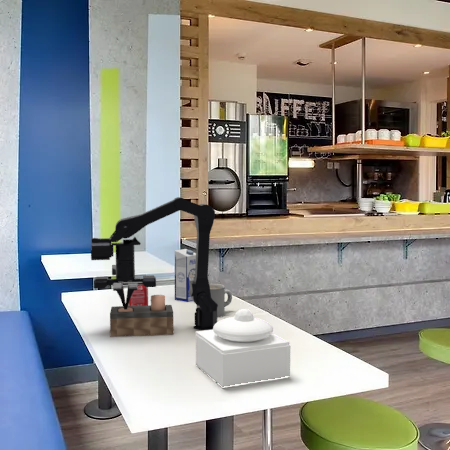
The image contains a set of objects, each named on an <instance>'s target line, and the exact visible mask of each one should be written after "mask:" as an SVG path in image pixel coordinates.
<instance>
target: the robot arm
mask: <svg viewBox="0 0 450 450" xmlns="http://www.w3.org/2000/svg"><path fill="white" fill-rule="evenodd" d="M179 211H182V212H185V213H187V214H190V215H192V216H194V219H193V220H194V225H195V230H196V245H195V246H196V248H195V253H196V265H195V277H194V280H193V281H190V280H189V291H188V293H189V294H190V296H191V299H192V300H193V301H192V302H193V303H194V304H196V308H195V312H194V326H193V329H197V330H198V329H199V330H202V331H204V330H213V326H214V325H215V324H216V323H217V322H218V317H217V307H218V304H217V303H216V302H215V301H214V300H213V299H212V298H211V292H210V285H209V284H210V281H209V258H210V257H209V255H210V238H211V230H212V228H213V226H214V222H215V216H216V211H215V209H214V208H213V206H212V205H210V204H207V203H206V204H205V203H200V204H198V203H194V202H192V201H190V200H188V199H185V198H183V197H180V196H179V197H175V198H174V199H172V200H170V201H168V202H166V203H163V204H161V205H159V206H156V207H154V208H152V209H150V210H148V211H145V212H143V213H141V214H136V215H131V216H127V217H125V218H120V219H119V220H117V222H116V224H115V227H114V228H115V229H114V231H113V233H112V234H110V236H109V238H108V237H107V238H97V237H92V238H91V249H90V259H91V261H110V260H111V258H112V257H114V246H115V264H112V266H111V275H112V276H115V278H110V279H109V275H108V276H96V277H95V278H94V281H93V289H95V290H96V289H98V290H99V289H105V288H107V286H112V287H113V289H112V291H114V292H116V293H117V295H118V297H119V299H120V301H121V303H122V304H121V305H122V306H123V307H124V310H125V309H127V308H128V304H129V301H130V298H131V296H132V294H133V292H134V290H137V286H138V284H143V285H144V286H145V287H148V288H156V287H157V277H156V276H155V275H150V274H149V275H143V276H142V277H141V278H140V277H137V278H136V270H135V246H140V245H141V241H140V240H138V238H137V237H136V236H134V235H135V234H137V233H138V232H140V231H141V230H143V229H144V228H145V227H146V226H148V225H150V224H153V223H155V222H157V221H159V220H161V219H164V218H166V217H168V216H170V215H173V214H175V213H177V212H179ZM132 236H134V237H133V238H131V237H132ZM129 238H131V239H129ZM121 240H122V242H119V241H121ZM124 285H125V286H127V290H126V297H125V291H124V290H125V289H124ZM125 298H126V299H125ZM197 306H198V308H197Z"/></svg>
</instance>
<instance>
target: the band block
mask: <svg viewBox="0 0 450 450" xmlns="http://www.w3.org/2000/svg"><path fill="white" fill-rule="evenodd" d="M110 308H111V309H110V312H109V330H110V331H109V333H110V334H109V335H110V338H115V337H138V336H139V337H141V336H145V337H146V336H165V335H166V336H167V335H174V309H173V306H172V304H165V310H161V311H151V304H150V305H149V304H148V306H128V308H132V309H133V311H130V312H118V309H120V308H124V307H123V305H122V306H121V305H120V306H117V305H116V306H111V307H110Z"/></svg>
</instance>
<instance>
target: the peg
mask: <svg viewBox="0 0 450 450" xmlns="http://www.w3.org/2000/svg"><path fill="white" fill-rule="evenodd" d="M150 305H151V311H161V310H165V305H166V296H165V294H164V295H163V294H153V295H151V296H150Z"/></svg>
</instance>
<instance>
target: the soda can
mask: <svg viewBox="0 0 450 450" xmlns="http://www.w3.org/2000/svg"><path fill="white" fill-rule="evenodd" d="M148 305H149V287H145V286H144V285H143V284H138V286H137V290H134V292H133V294H132V296H131V298H130V301H129V304H128V306H148Z"/></svg>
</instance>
